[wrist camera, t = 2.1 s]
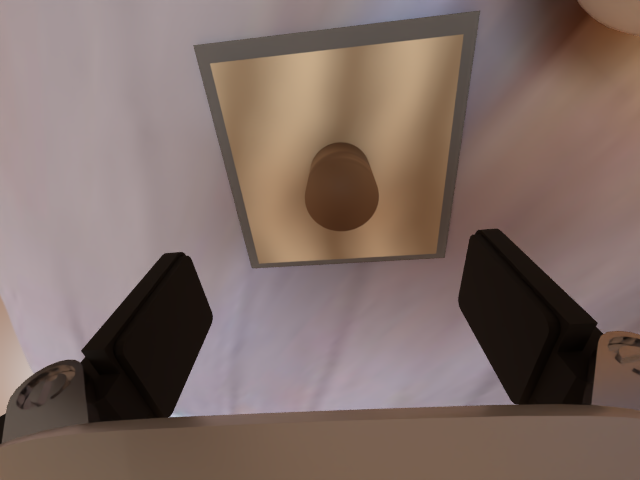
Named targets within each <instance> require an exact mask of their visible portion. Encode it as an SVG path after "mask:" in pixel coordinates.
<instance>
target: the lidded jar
mask: <svg viewBox="0 0 640 480" xmlns="http://www.w3.org/2000/svg"><path fill="white" fill-rule="evenodd" d="M577 1H578V3H579V4H580V6H581V7H582V8H583V9H584V10H585V11H586V12H587V13H588V14H589V15H590V16H591V17H593V18H594V19H595V20H597V21H598V22H600V23H602V24H603V25H605V26H607V27H608V28H611V29H614V30H617V31H621V32H624V33H628V34H631V35H635V36H640V0H577Z"/></svg>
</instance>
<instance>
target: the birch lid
mask: <svg viewBox="0 0 640 480" xmlns="http://www.w3.org/2000/svg"><path fill="white" fill-rule="evenodd" d="M463 35H464V34H461V35H453V36H444V37H435V38H427V39H418V40H409V41H401V42H392V43H383V44H375V45H366V46H357V47H349V48H340V49H331V50H323V51H314V52H306V53H297V54H288V55H280V56H271V57H262V58H254V59H245V60H236V61H228V62H219V63H210V66H211V70H212V74H213V78H214V82H215V86H216V90H217V94H218V98H219V102H220V106H221V111H222V115H223V119H224V123H225V127H226V131H227V135H228V139H229V143H230V147H231V151H232V155H233V159H234V164H235V168H236V172H237V176H238V180H239V184H240V188H241V192H242V196H243V200H244V204H245V208H246V212H247V217H248V221H249V225H250V229H251V233H252V237H253V241H254V245H255V249H256V253H257V257H258V261H259V264H261V263H278V262H296V261H314V260H331V259H349V258H367V257H384V256H402V255H420V254H436V251H437V243H438V235H439V227H440V219H441V211H442V203H443V195H444V187H445V179H446V171H447V163H448V155H449V147H450V139H451V131H452V123H453V115H454V107H455V99H456V91H457V83H458V75H459V67H460V59H461V51H462V43H463Z"/></svg>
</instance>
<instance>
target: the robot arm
mask: <svg viewBox="0 0 640 480" xmlns="http://www.w3.org/2000/svg"><path fill="white" fill-rule="evenodd" d="M458 302H459V307H460V309H461V311H462V313H463V315H464V317H465V318H466V320H467V322H468V324H469V326H470V327H471V329H472V331H473V333H474V335H475V336H476V338H477V340H478V342H479V344H480V345H481V347H482V349H483V351H484V353H485V355H486V356H487V358H488V360H489V362H490V364H491V365H492V367H493V369H494V371H495V373H496V374H497V376H498V378H499V380H500V382H501V384H502V385H503V387H504V389H505V391H506V393H507V394H508V396H509V398H510V400H511V401H512V402H513V403H514V404H519V405H480V406H450V407H420V408H390V409H362V410H336V411H310V412H284V413H259V414H237V415H214V416H191V417H170V416H171V414H172V413H173V411H174V408H175V406H176V404H177V402H178V399H179V397H180V395H181V392H182V390H183V388H184V386H185V383H186V381H187V379H188V376H189V374H190V372H191V370H192V367H193V365H194V363H195V360H196V358H197V356H198V354H199V351H200V349H201V347H202V344H203V342H204V340H205V338H206V335H207V333H208V331H209V328H210V326H211V324H212V320H213V315H212V311H211V309H210V306H209V304H208V301H207V298H206V296H205V293H204V291H203V288H202V285H201V283H200V280H199V278H198V275H197V272H196V270H195V267H194V265H193V262H192V260H191V258H190V257H189V256H186V255H185V254H184V253H183V252H176V253H165V254H163V255H162V256H161V258H160V259H159V260H158V261H157V262H156V263H155V265H154V266H153V267H152V268H151V269H150V270H149V272H148V273H147V274H146V275H145V276H144V278H143V279H142V280H141V281H140V282H139V283H138V285H137V286H136V287H135V288H134V289H133V290H132V292H131V293H130V294H129V295H128V296H127V298H126V299H125V300H124V301H123V302H122V303H121V305H120V306H119V307H118V308H117V309H116V310H115V312H114V313H113V314H112V315H111V316H110V317H109V319H108V320H107V321H106V322H105V323H104V325H103V326H102V327H101V328H100V329H99V330H98V332H97V333H96V334H95V335H94V336H93V337H92V339H91V340H90V341H89V342H88V343H87V345H86V346H85V347H84V348H83V349H82V350H81V351H82V353H83V354H84V355H85V358H84V359H83V360H82V362H81V363H80V362H78V361H76V360H64V361H59V362H56V363H54V364H51V365H49V366H47V367H45V368H43V369H41V370H40V371H38V372H36V373H35V374H33V375H32V376H31V377H29V378H28V379H27V380H25V382H23V383H22V384H21V386H19V387H18V388H17V389H16V391H15V392H14V393H13V395H12V396H11V397H10V400H9V402H8V405H7V410H6V414H4V415H2V416H1V417H0V480H640V335H638V334H634V333H631V332H623V331H613V332H607V333H605V334H603V333H602V332H601V331H600V330H599V329H598V328H597V327H596V325H597V322H596V321H595V320H594V319H593V318H592V317H591V316H590V315H589V314H588V313H587V312H586V311H585V310H584V309H583V308H581V307H580V306H579V305H578V304H577V303H576V302H575V301H574V300H573V299H572V298H571V297H570V296H569V295H568V294H567V293H566V292H565V291H564V290H563V289H561V288H560V287H559V286H558V285H557V284H556V283H555V282H554V281H553V280H552V279H551V278H550V277H549V276H548V275H547V274H546V273H545V272H544V271H543V270H541V269H540V268H539V267H538V266H537V265H536V264H535V263H534V262H533V261H532V260H531V259H530V258H529V257H528V256H527V255H526V254H525V253H524V252H523V251H521V250H520V249H519V248H518V247H517V246H516V245H515V244H514V243H513V242H512V241H511V240H510V239H509V238H508V237H507V236H506V235H505V234H504V233H502V232H501V231H500V230H499V229H486V230H478V231H477V232H476V233H475V235H471V237H470V239H469V244H468V250H467V255H466V260H465V266H464V271H463V276H462V281H461V287H460V292H459V297H458ZM168 417H169V418H168Z"/></svg>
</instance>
